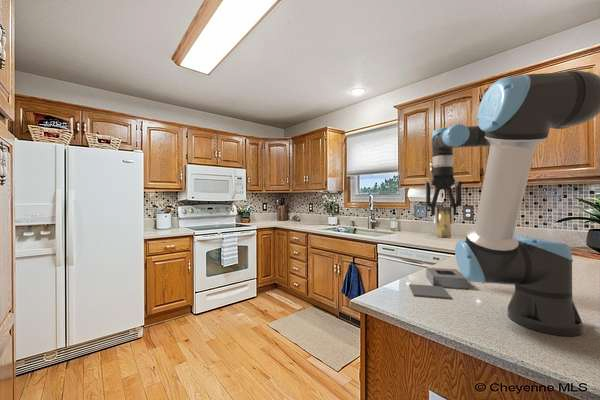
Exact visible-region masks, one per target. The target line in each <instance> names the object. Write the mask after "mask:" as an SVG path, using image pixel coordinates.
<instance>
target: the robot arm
mask: <svg viewBox="0 0 600 400" xmlns="http://www.w3.org/2000/svg"><path fill="white" fill-rule="evenodd" d="M598 115H600V75H598V74H596V73H593V72H590V71H586V70H585V71H584V70H568V71H560V72H557V71H556V72H546V73H532V74H531V73H530V74H529V73H528V74H523V73H521V74H519V75H518V74H517V75H512V76H505V77H503V78H499V79H498V80H496V81H494V83H493V84H491V85H490V86H489V88H488V89H487V90H486V92H485V93H484V95H483V97H482V98H481V101H480V103H479V107H478V110H477V115H476V116H477V118H476V119H477V120H478V121H477V125H475V126H474V125H472V126H470V125H469V126H466V125H464V124H462V123H455V124H453V125H451V126H449V127H440V128H437V129H434V130H433V131H432V132H431V134H432V135H431V151H432V153H431V155H432V159H431V160H432V164H431V165H432V167H433V168H432V179H431V181H427V182H425V183H424V186H425V189H426V190H425V195H426V196H425V205H426V206H427V207H429V208H430V215H431V216H433V223H434V224H436V225H437V208H436V204H437V201H438V197H439V194H440V191H441V190H445V191H446V192H447V196H448V200H449V203H450V207H451V225H454V221H455V220H454V216H457V207H461V206H462V185H463V181H462V180H460V181H459V180H456V179H455V178H454V167H453V166H454V149H455V148H475V147H489V151H488V157H487V160H486V161H487V162H486V168H485V172H484V177H483V183H482V186H481V187H482V188H481V193H480V196H479V197H480V198H479V203H478V208H477V215H476V219H475V225H474V228H472V229H470V230H468V231H467V233H466V237H465V240H463V239H462V240H458V241H457V242H456V244H455V246H454V247H455V248H454V253H455V254H454V255H455V260H456V261H455V262H456V263H457V266H458V269H459V270H458V271H459V272H460V273H461V274H462V275H463V276H464V278H465V279H467V280H468V282H471V283H481V284H506V285H507V284H509V285H514V291H513V294H512V296H511V298H510V301H509V303H508V306H507V317H508V318H509V319H510V320H511V321H513V322H514V323H516V324H518V325H520V326H523V327H525V328H527V329H530V330H534V331H537V332H539V333H544V334H549V335H555V336H560V337H561V336H562V337H577V336H578V337H579V336H580V335H582V334H583V332H584V327H583V326H584V325H583V321H582V319H581V316H580V314H579V311H578V310H577V307H576V305H575V302H574V300H573V262H574V259H573V255H572V249H571V246H570V245H569V244H567V243H565V242H562V241H557V240H550V239H546V238H545V239H544V238H538V237H531V236H530V237H529V236H523V235H522V236H521V235H516V236H514V234H515V232H516V231H515V230H516V226H517V223H518V218H519V214H520V211H521V207H522V203H523V199H524V196H525V192H526V187H527V185H528V180H529V176H530V173H531V172H530V171H531V169H532V164H533V159H534V157H535V153H536V148H537V146H538V145H539V144H541V143H542V142H545V141H546V140H547V139H548V137H549V133H550V130H551V129H553V130H563V129H567V128H570V127H575V126H579V125H582V124H585V123H587V122H589V121H591V120H593V119H594V118H595V117H597V116H598ZM432 186H433V187H434V193H433V196H432V200H431V187H432ZM452 186H455V196H454V194H453V190H452ZM454 197H455V198H454Z"/></svg>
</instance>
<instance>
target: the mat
mask: <svg viewBox="0 0 600 400" xmlns="http://www.w3.org/2000/svg"><path fill="white" fill-rule="evenodd" d="M408 287H409V288H410V291H411V293H412V295H413V297H420V298H431V299H444V300H452V296H451V294H449V292H448V291H447V290H446V288H445V287H442V286H433V285H430V284H429V285H427V284H414V283H409V284H408Z"/></svg>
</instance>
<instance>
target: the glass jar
mask: <svg viewBox="0 0 600 400" xmlns="http://www.w3.org/2000/svg"><path fill="white" fill-rule="evenodd" d="M435 208H437V224H436V238H438V239H452V224H451V208H452V206H437V207H436V206H435Z"/></svg>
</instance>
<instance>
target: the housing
mask: <svg viewBox="0 0 600 400" xmlns="http://www.w3.org/2000/svg"><path fill="white" fill-rule="evenodd" d="M425 277H426V279H428V281H429V283H430V284H431V286H442V287H443V288H448V289H463V290H468V289H469V285H468V283H469V281H468V280H467V279H465V278H464V276H463V275H462V274H461V272H460V270H457V268H456V269H455V268H443V267H442V268H441V267H425Z"/></svg>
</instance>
